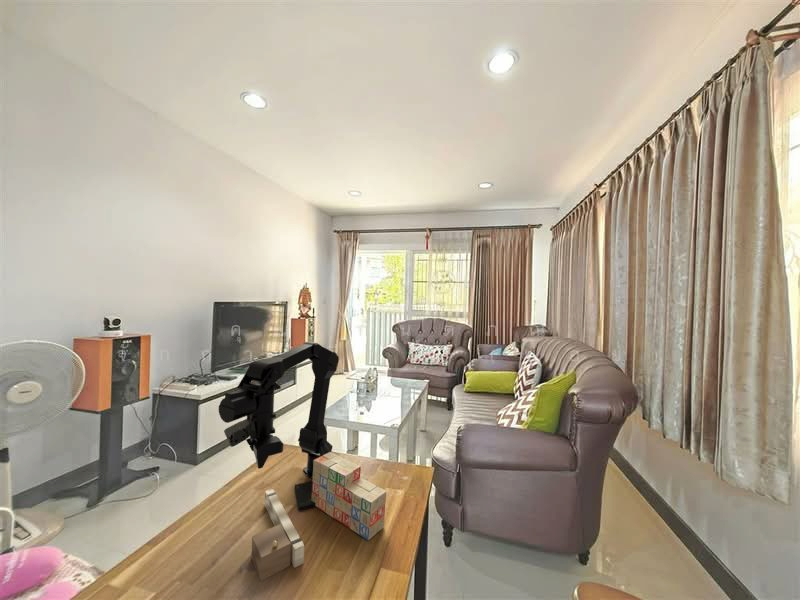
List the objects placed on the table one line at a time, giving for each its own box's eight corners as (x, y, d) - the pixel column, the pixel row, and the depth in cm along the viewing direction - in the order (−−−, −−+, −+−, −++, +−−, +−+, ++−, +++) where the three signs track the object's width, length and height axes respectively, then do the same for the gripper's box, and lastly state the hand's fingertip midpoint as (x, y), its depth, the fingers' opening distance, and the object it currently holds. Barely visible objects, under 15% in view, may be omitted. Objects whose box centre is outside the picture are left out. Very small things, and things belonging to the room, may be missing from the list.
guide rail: (264, 505, 86) (265, 490, 86) (272, 502, 88) (272, 487, 88) (294, 568, 67) (294, 548, 67) (303, 563, 69) (304, 544, 69)
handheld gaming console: (287, 485, 93) (308, 454, 95) (305, 491, 97) (326, 462, 99) (297, 513, 84) (321, 479, 86) (317, 519, 87) (340, 486, 90)
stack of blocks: (384, 527, 80) (387, 479, 80) (368, 541, 75) (371, 490, 75) (327, 492, 93) (330, 450, 92) (310, 503, 87) (313, 458, 87)
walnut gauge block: (251, 558, 70) (252, 530, 69) (278, 545, 73) (279, 519, 73) (260, 581, 64) (261, 551, 64) (290, 566, 68) (290, 537, 68)
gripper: (221, 404, 86) (220, 460, 86) (234, 429, 71) (232, 497, 71) (264, 397, 92) (263, 449, 93) (285, 418, 78) (282, 481, 78)
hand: (260, 467), depth 83 cm, fingers closed
